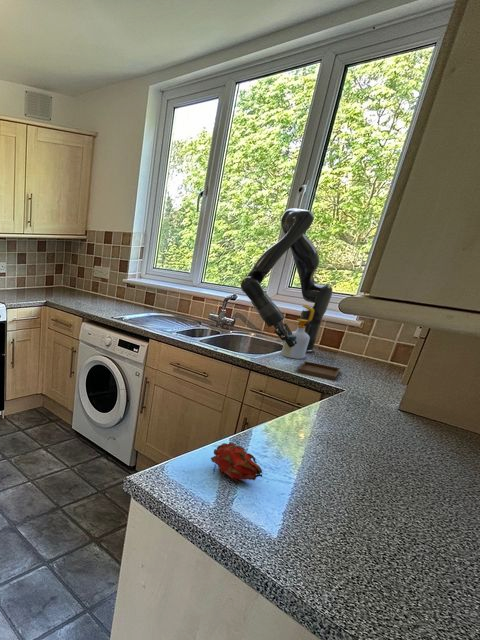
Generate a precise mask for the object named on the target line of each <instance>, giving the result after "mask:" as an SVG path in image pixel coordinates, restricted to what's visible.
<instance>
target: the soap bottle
mask: <svg viewBox="0 0 480 640" xmlns="http://www.w3.org/2000/svg"><path fill="white" fill-rule="evenodd" d="M302 308H305V309H309V310H310V316H309V319H308V320H304V319H300V318H297V319H296V322H298V323H300V325H298V324H297V327H296V330H293V331H291V332H292V335H294V336H296V342H297V344H295V345H294V347H293V350H292V354H291V356H285V357H286V358H289V359H296V360H302V359H304V358H305V357H306V356H305V355H306V353H307V352H306V349H307V346H308V343H309V339H310V337H309V335H308V334H307V333H305V326H304V324H306V322H309V321H311V320H312V318H313V315H314V311H315V310H314V309H313V308H312V306H309V305H307V304H303V305H302ZM299 321H300V322H299Z"/></svg>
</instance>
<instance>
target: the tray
mask: <svg viewBox="0 0 480 640" xmlns="http://www.w3.org/2000/svg"><path fill="white" fill-rule="evenodd" d="M340 370H341V368H340V367H336V366H331V365H327V364H322V363H316V362H312V361H307V360H305V361H304V362H303V363H302V364H301V365H300V366H299V368H298V370H297V373H299V374H302V375H303V374H304V375H309V376H312V377H317V378H322V379H327V380H332V381H336V379H337V377H338V375H339V373H340Z"/></svg>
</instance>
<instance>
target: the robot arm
mask: <svg viewBox="0 0 480 640" xmlns="http://www.w3.org/2000/svg"><path fill="white" fill-rule="evenodd" d="M314 220H315V216H314V213H313V212H312V211H311V210H307V209H301V208H289V209H287V210H285V211H284V212H283V214H282V216H281V219H280V226H281V230H282V231H283V233H284V236H283V237H282V238H281V239H280V240H278V241H277V242H276V243H274V244H273V245H272V246H270V247H269V248H267V249H266V250H265V251H264V252H263V253H262V254H261V256H260V257H259V258H258V259H257V260H256V262H255V264H254V265H253V266H252V269H251V270H250V272H249V273H248V274H247V275H246V276H245V277H244V278H243V279H242V280H241V282H240V290H241V292H243V293H244V294H245V295H246V297H247V298H248V299H249V300H250V302H251V304H252V306H253V307H254V308H255V310H256V311H257V314H258V315H259V316H260V318H261V319H262V321H263V322H264V323H265V325H266V326H267V327H268V328H271V327H273V328H274V333H275V334H276V335H277V336H278V338H279V339H280V340H281V341H282V342H284V341H285V342H286V343H287V344H288V346H289V347H290V348H291V347H293V346H294V345H295V344H297V342H296V341H295V343H293V341H292V340H291V339H289V338H290V337H289V335H292V332H293V331H291V328H290V327H289V325H288V324H287V323H284V322H283V320H284V319H285V318H286V317H285V315H284V314H283V313H282V311H281V310H280V308H278V306H277V304H276V303H274V301H272V299H271V298H270V296H269V295H268V294H267V293H266V292H265V290H264V288H263V286H262V285H261V283H262V282H263V280H264V279H265V278H266V276H267V275H268V274H269V273H270V271H272V269H273V268H274V266H275V265H276V264H277V263H278V261H279V260H280V259H281V257H283V256H284V254H285V253H286V252H287V251H288V250H289V249H290V251H291V255H292V258H293V262H294V265H295V267H296V271H297V275H298V278H299V282H300V288H301V295H302V299H303V300H304V301H305V302H307V303H312V304H313V306H311V308H313V309H314V310H315V311H314V315H313V318H312V320H311V321H309V322H306V324H304V326H305V333H307V334H308V335H309V337H310V339H309V343H308V346H307V349H306V353H313V351H314V348H315V345H316V341H317V338H318V334H319V331H320V328H321V324H322V322H323V318H324V316H325V314H326V312H327V310H328V307H329V304H330V302H331V298H332V296H333V287H332V285H329V284H323V283H317V282H316V280H315V277H314V274H315V273H316V271H317V269H318V268H319V265H320V257H319V253H318V250H317V248H316V246H315V245H314V243H313V242H312V241H311V240H310V239H309V238H308V236H307V235H306V234H305V233H306V232H307V231H308V230H309V229H310V228H311V226H312V225H313V222H314ZM309 316H310V310H309V309H306V308H305V309H302V310H301V312H300V316H299V319H304V320H308V319H309ZM299 322H300V321H298V324H297V326H298V325H300V323H299Z"/></svg>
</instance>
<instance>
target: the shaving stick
mask: <svg viewBox="0 0 480 640" xmlns="http://www.w3.org/2000/svg"><path fill="white" fill-rule="evenodd" d="M289 337H290V338H289V339H291V340H292V341H293V343H295V341H296V336H294V335H289ZM293 347H294V346H293ZM293 347H291V348H290V347H289V346H288V344H287V343H286V342H285V341H284V340H283V345H282V349H281V352H280V356H283V357H286V356H291V354H292V350H293Z"/></svg>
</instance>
